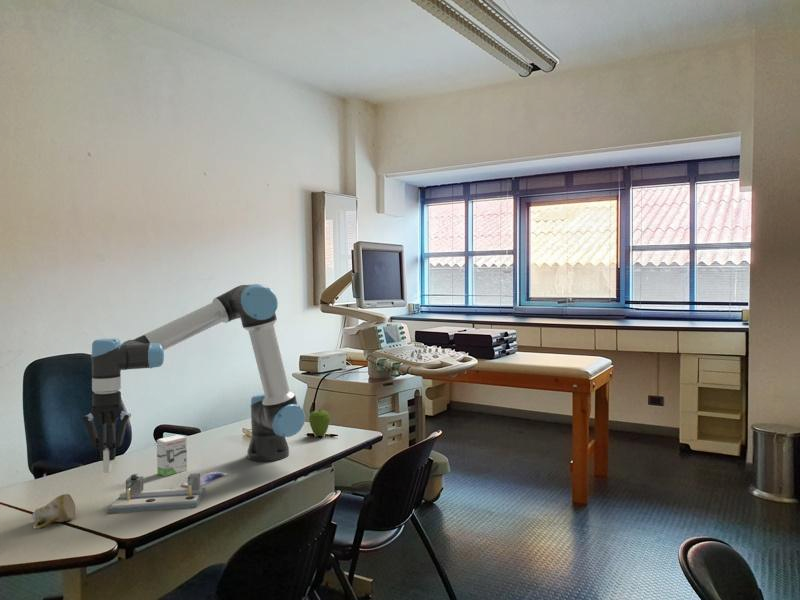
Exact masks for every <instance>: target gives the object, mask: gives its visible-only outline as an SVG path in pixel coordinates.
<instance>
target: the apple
mask: <svg viewBox="0 0 800 600" xmlns="http://www.w3.org/2000/svg"><path fill="white" fill-rule="evenodd" d="M309 414H310V415H309V418H308V419H309V420H308V421H309V426H310V428H311V431H312V433H313V434H314V435H315V436H316V437H318V436H322V437H324V436H325V435H326V433H327V431H328V429H329V425H330V420H331V419H330V418H331V416H330V414H329V412H328V411H327V410H324V409H316V410H313V411H312V412H311V413H309ZM323 435H324V436H323Z"/></svg>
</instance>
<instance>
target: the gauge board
mask: <svg viewBox="0 0 800 600" xmlns="http://www.w3.org/2000/svg"><path fill="white" fill-rule="evenodd" d="M200 476H201V473H189V475H188V476H187V482H188V488H186V487H181V488H169V489H168V488H166V489H151V490H143V491H142V492H141V493H138V494H130V501H127V494H126V491H121V492H120V493H119V497H117V499H116V500H115V501H114V502H113V503H112V504H110V506H109V507H108V508H107V513H108V514H115V513H117V514H118V513H128V512H130V513H131V512H144V511H146V512H147V511H159V510H160V511H161V510H174V509H176V510H177V509H188V508H189V509H190V508H197V507H198V505H199V504H200V502H201V500H202V499H203V497H204V495H205V494H206V492H207V490H206V486H203V487H200V486H201V485H200Z"/></svg>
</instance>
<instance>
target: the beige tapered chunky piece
mask: <svg viewBox="0 0 800 600" xmlns="http://www.w3.org/2000/svg"><path fill="white" fill-rule="evenodd" d="M31 516H32V520H33V522H35V523H34V524H33V526H32V528H33V527H35V528H40V529H43V528H45V527H47V526H49V525H50V524H52V523H53V522H55V523H65V522H67V521H70V520H72V519H74V518H75V516H76V503H75V501H74V499H73V497H72V495H71V494H69V493H65V494H61V495H58V496H57V497H55V498H54V499H52V500H51V501H50V502H48V503H47V504H46V505H44V506H42V507H39V508H37V509H35V510H34V511H33V512H32V515H31ZM64 521H65V522H64ZM38 523H40V525H39V524H38ZM42 527H43V528H42Z"/></svg>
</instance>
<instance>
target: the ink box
mask: <svg viewBox="0 0 800 600" xmlns="http://www.w3.org/2000/svg"><path fill="white" fill-rule="evenodd" d="M187 438H188V437H187V436H184V435H181V434H175V435H171V436H167V437H161V438H158V439H157V440H156V459H157V460H156V461H157V466H156V467H157V475H160V476H163V477H168V476H171V475H175V474H178V473H182V472H184V471H188V448H187V447H188V445H187V444H188V443H187V441H188V440H187Z"/></svg>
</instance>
